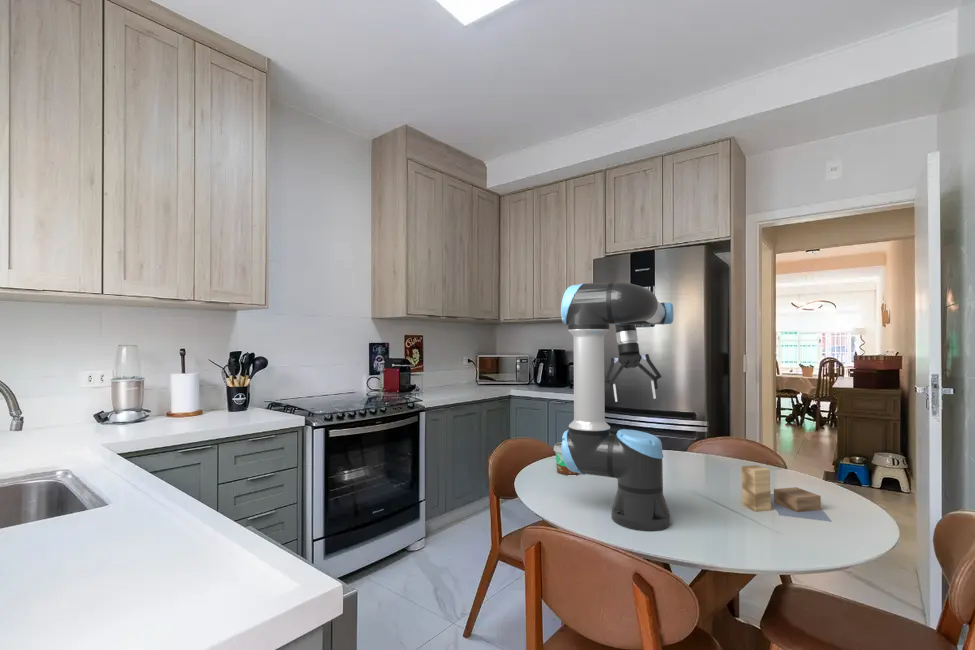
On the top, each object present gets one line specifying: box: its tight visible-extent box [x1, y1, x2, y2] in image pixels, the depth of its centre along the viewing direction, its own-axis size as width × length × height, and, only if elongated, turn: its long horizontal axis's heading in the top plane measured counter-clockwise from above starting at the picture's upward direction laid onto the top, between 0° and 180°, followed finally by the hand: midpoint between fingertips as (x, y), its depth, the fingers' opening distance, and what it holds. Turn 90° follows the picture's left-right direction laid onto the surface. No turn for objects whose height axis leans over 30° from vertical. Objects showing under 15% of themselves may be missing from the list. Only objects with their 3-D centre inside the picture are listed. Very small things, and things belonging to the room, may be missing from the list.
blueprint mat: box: [771, 493, 833, 523], centre depth 135 cm, size 20×12×1 cm, turn 157°
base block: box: [773, 486, 822, 512], centre depth 136 cm, size 8×8×4 cm
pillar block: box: [741, 464, 772, 513], centre depth 134 cm, size 5×5×12 cm
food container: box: [553, 441, 579, 476], centre depth 172 cm, size 12×6×10 cm, turn 25°
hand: (635, 400), depth 173 cm, fingers open, 13 cm apart
